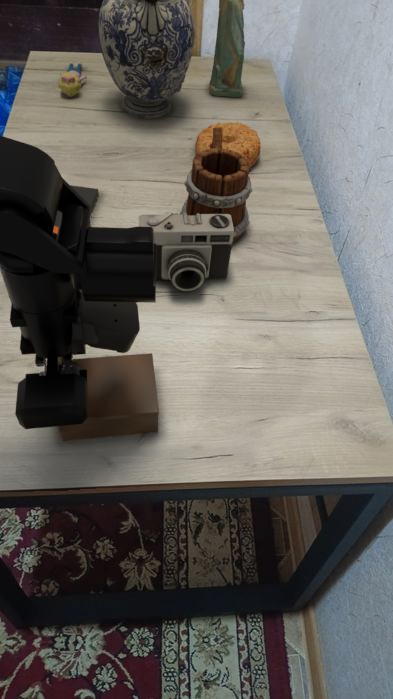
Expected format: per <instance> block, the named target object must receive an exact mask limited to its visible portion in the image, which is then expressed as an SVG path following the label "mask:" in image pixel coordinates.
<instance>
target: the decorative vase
mask: <svg viewBox="0 0 393 699" xmlns="http://www.w3.org/2000/svg"><path fill="white" fill-rule="evenodd" d="M98 38H99V46H100V51H101V54H102V58H103V61H104V64H105V66H106V69H107V71H108V73H109V75H110V77H111V79H112V81H113V83H114V84H115V86H116V87H117V88H118V90H119V91H120V93H122V94H123V95H124V97H123V99H122V102H121V106H122V109H123V110H124V112H126V113H127V114H128V115H130V116H132V117H134V118H139V119H145V120H152V119H153V120H154V119H159V118H162V117H165V116H166V115H168V114H169V113H170V112H171V109H172V105H171V102H170V98H172V97H173V96H174V95H176V94H177V93H179V92H181V91H182V90H181V89H182V87H183V83H184V82H185V79H186V74H187V72H188V69H189V66H190V63H191V60H192V57H193V51H194V45H195V19H194V15H193V12H192V9H191V7H190V5H189V3H188V2H187V1H186V0H103V1H102V3H101V6H100V9H99V14H98Z"/></svg>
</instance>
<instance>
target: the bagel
mask: <svg viewBox="0 0 393 699" xmlns="http://www.w3.org/2000/svg"><path fill="white" fill-rule="evenodd" d="M214 127H221V128H222V136H223V137H222V149H229V150H232V151H235V152H237V153H239V154H240V155H242V158H245V159H246V160H247V161H248V164H249V169H250V168H251V167H253V165H255V163H256V162H257V161H258V159H259V156H260V155H261V147H262V146H261V138H260V137H259V135H258V132H257V131H256V130H255V129H252V128H251V127H250V126H248V125H246V124H244V123H243V122H239V121H238V122H237V121H236V122H231V121H230V122H229V121H227V122H223V123H221V122H218V123H216V124H211V125H208V126H207V127H204V129H202V130H201V131H200V132H199V133H198V135H196V136H195V137H196V141H195V144H194V146H195V153H196V155H197V154H199V153H200V152H202V151H204V150H207V149H210V144H211V143H212V140H213V128H214Z"/></svg>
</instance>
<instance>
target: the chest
mask: <svg viewBox="0 0 393 699" xmlns="http://www.w3.org/2000/svg"><path fill="white" fill-rule="evenodd" d="M159 418H160V415H150V416H140V417H129V418H118V419H107V420H96V421H85V422H84V423H83V424H77V425H66V426H57V427H58V430H59V431H58V432H59V434H60V437H61V441H62V442H70V441H81V440H90V439H100V438H102V439H103V438H112V437H121V436H122V437H123V436H132V435H142V434H153V433H154V434H155V433H159V424H160V423H159V420H160V419H159Z"/></svg>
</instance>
